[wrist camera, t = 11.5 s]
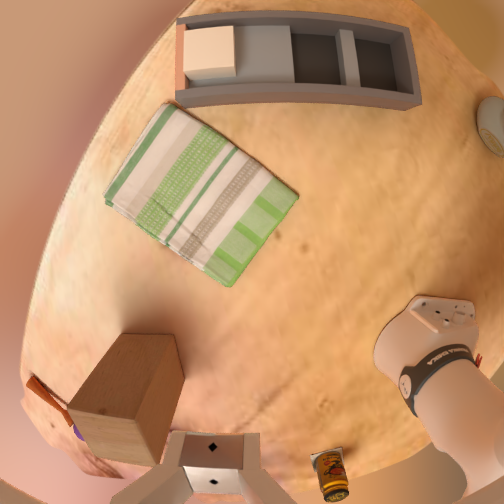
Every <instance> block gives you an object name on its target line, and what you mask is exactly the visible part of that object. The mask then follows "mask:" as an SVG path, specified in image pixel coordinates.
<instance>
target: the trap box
mask: <svg viewBox="0 0 504 504" xmlns="http://www.w3.org/2000/svg"><path fill="white" fill-rule="evenodd" d="M222 26H233V29H234V36H235V56H236V77H224V78H212V79H202V80H193V81H190V80H189V79H188V77H187V76H186V74H185V73H184V72H183V54H184V31H187V30H194V29H202V28H211V27H222ZM175 100H176V101H178V102H179V103H180V104H181V105H182V106H183V107H184V108H185V109H186V108H195V107H205V106H216V105H229V104H246V103H280V102H295V103H329V104H346V105H358V106H369V107H379V108H387V109H395V110H402V111H405V110H408V109H411V108H413V107H416V106H419V105H422V98H421V91H420V83H419V77H418V71H417V65H416V59H415V54H414V49H413V44H412V40H411V35H410V31H409V28H407V27H403V26H399V25H395V24H391V23H386V22H381V21H376V20H371V19H365V18H359V17H353V16H346V15H338V14H329V13H319V12H305V11H238V12H224V13H213V14H204V15H196V16H189V17H183V18H177V24H176V55H175Z"/></svg>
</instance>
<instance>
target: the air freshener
mask: <svg viewBox="0 0 504 504" xmlns="http://www.w3.org/2000/svg"><path fill="white" fill-rule="evenodd" d="M477 126H478V131H479V134H480V136H481V138H482V140H483V141H484V143H485V144H486V145H487V146H488V148H489V149H490V150H491V151H492V152H493V153H495V154H496V155H497V156H499V157H502V158H504V100H503V99H501V98H499V97H496V96H490V97H487V98H485V99H484V100H483V101H482V102H481V103H480V105H479V107H478V111H477Z"/></svg>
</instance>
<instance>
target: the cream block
mask: <svg viewBox="0 0 504 504" xmlns="http://www.w3.org/2000/svg"><path fill="white" fill-rule="evenodd" d="M183 72H184V73H185V74H186V76H187V77H188V79H189V80H190V81H193V80H202V79H212V78H224V77H236V56H235V36H234V29H233V26H222V27H211V28H202V29H194V30H187V31H184V54H183Z"/></svg>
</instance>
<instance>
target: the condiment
mask: <svg viewBox="0 0 504 504" xmlns="http://www.w3.org/2000/svg"><path fill="white" fill-rule="evenodd" d="M310 457H311V461H312V465H313V468H314V472H317V474H318V479H319V484H320V489H321V492H322V493H323V496H324V500H325V501H326V502H337V501H341V500H343V499H345V498H346V497H347V496H348V495H349V491H348V487H347V486H348V480H347V476H346V472H345V468H344V459H343V452H342V447H341V448H337V449H333V450H329V451H325V452H321V453H318V454H314V455H310Z"/></svg>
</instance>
